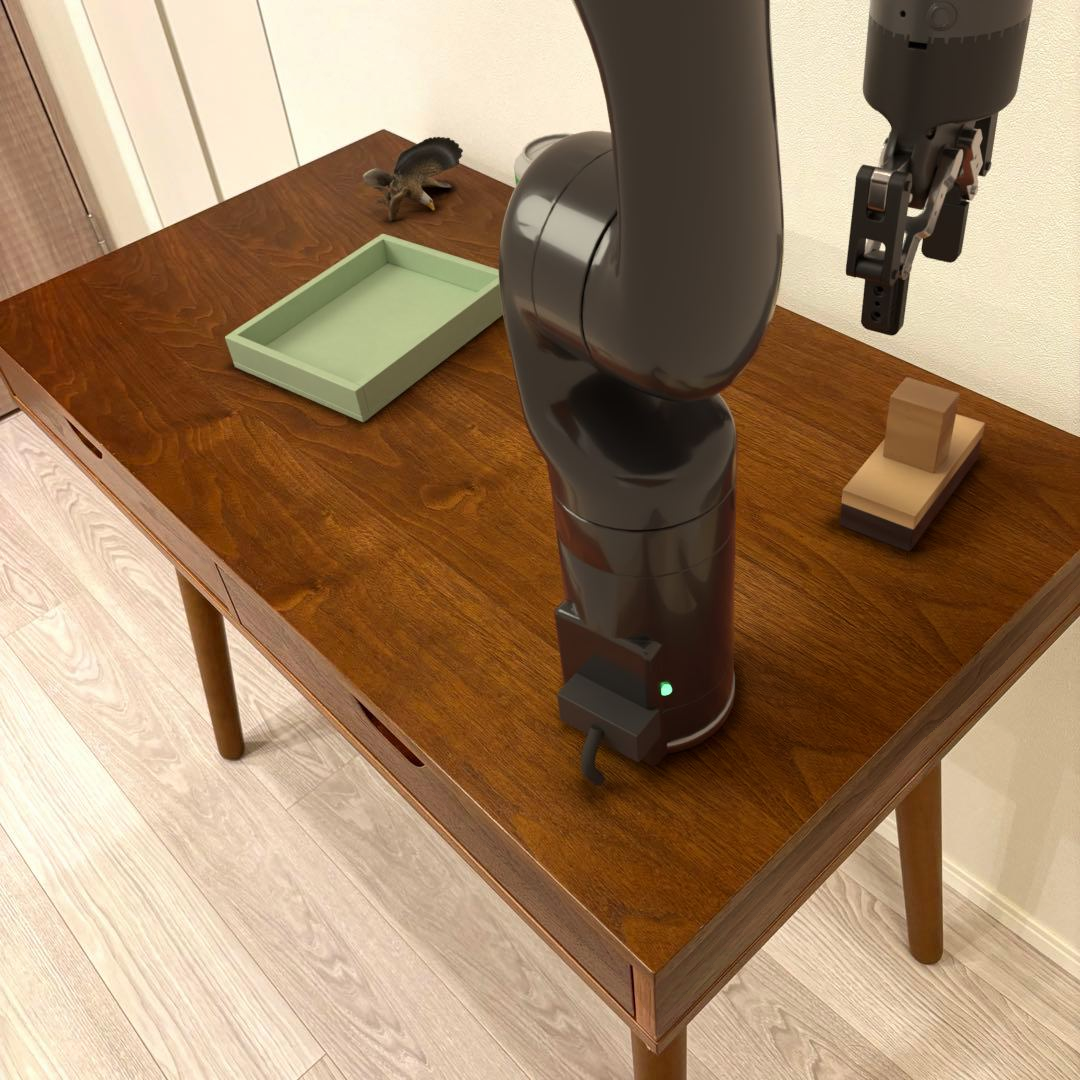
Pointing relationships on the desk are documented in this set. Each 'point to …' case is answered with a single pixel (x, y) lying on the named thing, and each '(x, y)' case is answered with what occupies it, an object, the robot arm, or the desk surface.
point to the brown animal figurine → (415, 172)
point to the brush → (912, 466)
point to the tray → (369, 325)
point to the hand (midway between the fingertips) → (911, 292)
